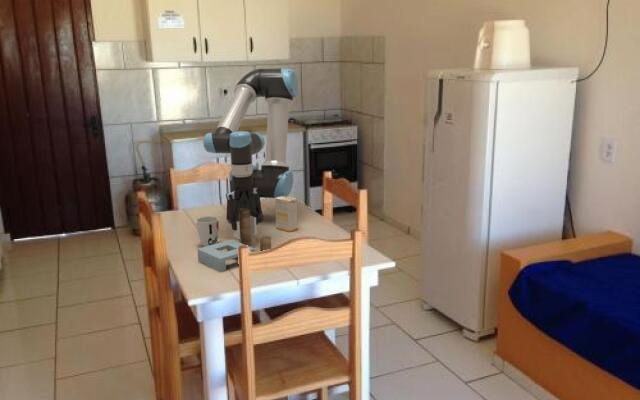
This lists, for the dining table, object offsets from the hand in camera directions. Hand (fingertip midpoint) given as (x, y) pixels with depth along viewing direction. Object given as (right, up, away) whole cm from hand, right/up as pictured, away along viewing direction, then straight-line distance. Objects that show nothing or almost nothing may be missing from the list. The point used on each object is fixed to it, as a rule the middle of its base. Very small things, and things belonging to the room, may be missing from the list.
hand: (245, 235), depth 207 cm
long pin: (0, -4, +1) cm, 4 cm away
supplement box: (+14, +1, +20) cm, 25 cm away
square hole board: (-5, -8, -14) cm, 17 cm away
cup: (-14, -4, +3) cm, 15 cm away
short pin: (+8, -6, -7) cm, 13 cm away
